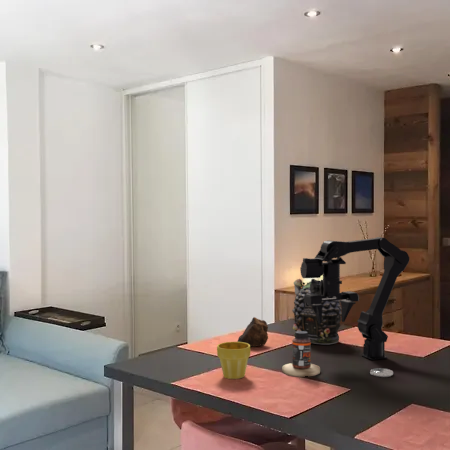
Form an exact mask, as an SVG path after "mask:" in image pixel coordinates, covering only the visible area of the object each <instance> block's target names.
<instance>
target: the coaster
mask: <svg viewBox="0 0 450 450" xmlns="http://www.w3.org/2000/svg"><path fill="white" fill-rule="evenodd" d="M281 368H282V369H281V370H282V371H281V372H282V373H283V374H285V375H287V376H291V377H300V378H301V377H303V378H306V377H305V376H308V377H315V376H317V375H319V374H321V367H320V366H319V365H316V364H314V363H311V367H310V368H307V369H298V368H294V367H293V366H292V363H286V364H284V365H282V367H281Z"/></svg>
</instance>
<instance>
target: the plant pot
mask: <svg viewBox="0 0 450 450" xmlns="http://www.w3.org/2000/svg"><path fill="white" fill-rule="evenodd" d="M216 351H217V352H216V353H217V358H219V361H220V366H221V371H222V376H223V378H225V379H229V380H240V379H243V378H244V377H245V376H246V370H247V366H248V361H249V358H250V356H251V346H250V345H249V344H248V343H244V342H237V341H226V342H225V341H224V342H221V343H219V344H217V345H216Z"/></svg>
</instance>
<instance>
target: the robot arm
mask: <svg viewBox="0 0 450 450" xmlns="http://www.w3.org/2000/svg"><path fill="white" fill-rule="evenodd" d="M373 250H377V251H378V252H379V253H380V255H381V257H383V258H384V261H383V274H382V276H381V279H380V281H379V283H378V286H377V288H376V292H375V294H374V296H373V298H372V301H371V303H370V306H369V308H368V310H366V311H361V312H360V315H359V317H358V319H357V321H356V322H357V329H358V331H359V333H361V336H362V338H364V340H363V341H364V343H363V345H362V346H363V347H362V349H363V354H361V356H362V357H364V358H365V359H366V358H367V359H369V360H371V361H375V360H383V359H384V360H385V359H388V356H386V355H385V353H386V352H385V351H386V349H385V347H386V345H385V343H386V342H387V341H388V338H389V336H388V334H386V332H385V331H384V330H383V329H382V328H383V324H384V321H383V320H384V318H383V317H384V316H383V313H384V310H385V308H386V306H387V303H388V301H389V299H390V296H391V293H392V291H393V288H394V286H395V284H396V281H397V279H398V277H399V276H400V275H401V273H403V271H404V270H406V268H407V266H408V265H409V262H410V256H409V254H408V252H407V251H405V250H402V249H400V248H399V247H398V246H397V245H395V244H393V243H392V242H390V241H389V240H388V239H387V238H386V237H379V236H376V237H374V238H373V237H372V238H367V239H365V238H364V239H358V240H348V241H341V240H340V241H339V240H324V241H323V242H322V244H321V246H320V249H319V250H318V252H317V254H316V255H315V256H314V258H309V257H308V258H307V257H306V258H305V257H303V258H302V262H301V264H300V275H301V277H302V278H303V279H320V278H321V276H322V279H321V280H320V281H321V284H320V285H317V283H312V284H310V292H311V293H315V294H305V296H304V302H305V303H307V304H308V305H310V306H311V307H312V308H313V310H314V312H315V315H316V318H317V321H318V323H319V324H321V321H322V308H323V305H321V304H320V303H321V302H322V301H330V300H340V306H341V309H342V310H341V322H343V323H345V322H346V319H347V317H348V315H349V313H350V311H351V309H352V308H353V306H354V305H355V304H356V302H360V295H359V294H358V293H357V292H355V291H350V290H349V291H347V290H346V291H341V285H342V284H343V280H341V269H340V268H341V265H346V264H347V262H346V261H345V260H344V259H343V258H342V257H344V256H346V255H348V254H350V253H357V252H359V253H360V252H363V251H373ZM321 295H323V296H321ZM334 297H335V298H334Z"/></svg>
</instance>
